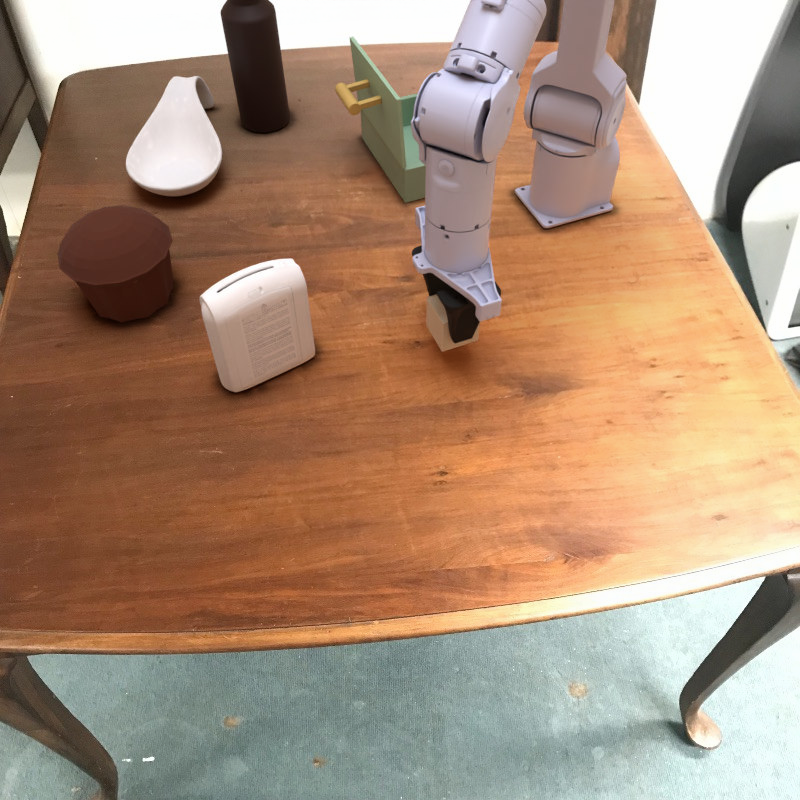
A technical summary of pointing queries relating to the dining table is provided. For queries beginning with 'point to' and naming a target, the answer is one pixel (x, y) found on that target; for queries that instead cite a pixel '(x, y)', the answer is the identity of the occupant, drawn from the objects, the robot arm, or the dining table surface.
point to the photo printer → (258, 323)
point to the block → (442, 325)
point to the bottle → (256, 63)
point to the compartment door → (374, 101)
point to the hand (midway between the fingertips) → (452, 322)
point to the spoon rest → (177, 142)
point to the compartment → (403, 179)
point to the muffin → (119, 261)
